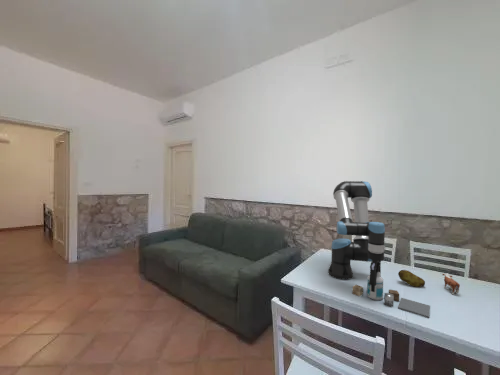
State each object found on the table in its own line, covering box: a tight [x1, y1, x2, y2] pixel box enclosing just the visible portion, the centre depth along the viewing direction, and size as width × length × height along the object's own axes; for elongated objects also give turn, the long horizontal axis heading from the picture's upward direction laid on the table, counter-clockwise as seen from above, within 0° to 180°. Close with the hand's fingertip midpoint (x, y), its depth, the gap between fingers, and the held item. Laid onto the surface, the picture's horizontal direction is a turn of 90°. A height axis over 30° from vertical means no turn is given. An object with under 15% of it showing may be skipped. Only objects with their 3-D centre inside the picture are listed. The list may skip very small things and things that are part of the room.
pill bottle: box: [366, 272, 384, 301], centre depth 123 cm, size 8×7×14 cm
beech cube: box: [351, 284, 364, 297], centre depth 127 cm, size 4×4×4 cm
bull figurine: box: [441, 272, 460, 295], centre depth 132 cm, size 4×13×8 cm, turn 161°
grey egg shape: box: [383, 292, 395, 308], centre depth 116 cm, size 4×4×5 cm
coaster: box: [397, 297, 431, 319], centre depth 113 cm, size 12×12×1 cm
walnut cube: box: [388, 289, 400, 302], centre depth 121 cm, size 4×4×4 cm
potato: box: [397, 269, 426, 288], centre depth 139 cm, size 8×13×8 cm, turn 44°
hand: (374, 294), depth 123 cm, fingers closed on pill bottle, 7 cm apart
